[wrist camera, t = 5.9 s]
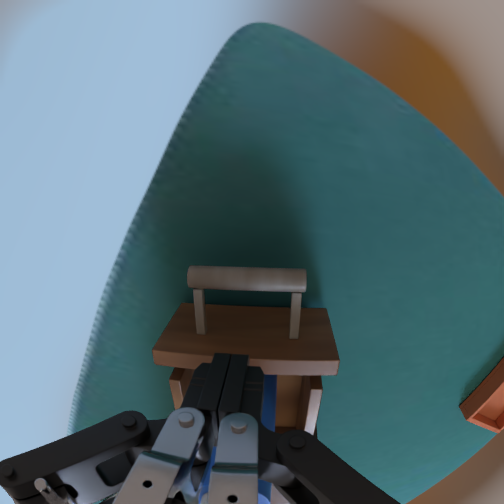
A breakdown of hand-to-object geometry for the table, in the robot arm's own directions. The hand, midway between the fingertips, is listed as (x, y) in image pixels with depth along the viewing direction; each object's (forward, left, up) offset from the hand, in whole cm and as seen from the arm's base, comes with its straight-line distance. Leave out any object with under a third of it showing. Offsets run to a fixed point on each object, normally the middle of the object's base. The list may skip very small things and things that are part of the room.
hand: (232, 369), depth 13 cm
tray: (+14, +32, -12) cm, 37 cm away
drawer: (+7, 0, -11) cm, 13 cm away
